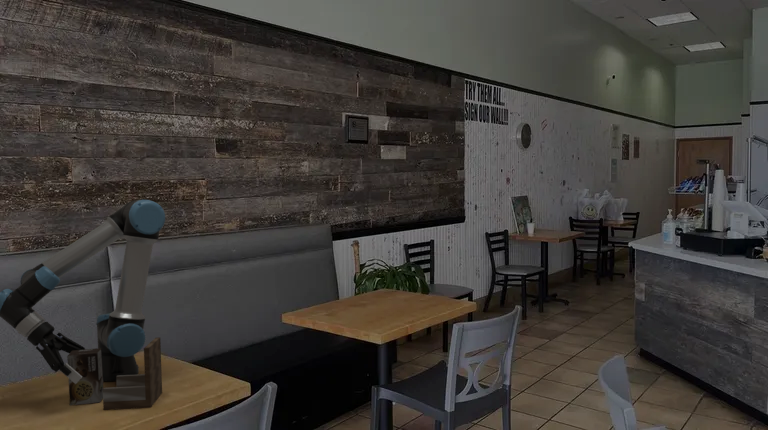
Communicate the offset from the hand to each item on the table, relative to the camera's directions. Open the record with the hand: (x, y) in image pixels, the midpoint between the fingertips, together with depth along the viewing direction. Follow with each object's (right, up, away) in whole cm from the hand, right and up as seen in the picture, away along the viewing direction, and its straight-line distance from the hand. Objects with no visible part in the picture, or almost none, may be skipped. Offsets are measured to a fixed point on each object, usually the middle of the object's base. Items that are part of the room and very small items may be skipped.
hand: (87, 374), depth 194 cm
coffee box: (0, -9, +1) cm, 9 cm away
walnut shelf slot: (+15, -9, 0) cm, 17 cm away
